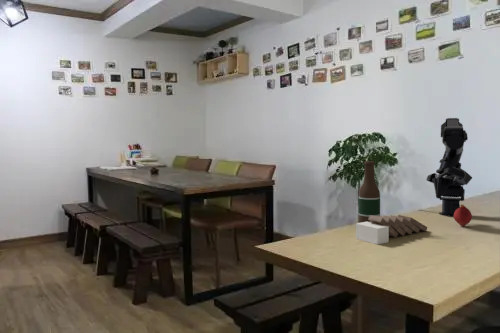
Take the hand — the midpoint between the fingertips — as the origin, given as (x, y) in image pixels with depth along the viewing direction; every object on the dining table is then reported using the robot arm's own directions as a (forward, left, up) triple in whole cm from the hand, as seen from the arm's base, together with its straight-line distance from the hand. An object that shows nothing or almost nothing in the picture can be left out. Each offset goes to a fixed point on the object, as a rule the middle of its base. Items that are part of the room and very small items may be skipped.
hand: (438, 198), depth 151 cm
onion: (+3, +8, -10) cm, 14 cm away
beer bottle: (-7, -24, -10) cm, 27 cm away
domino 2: (+7, -21, -10) cm, 24 cm away
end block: (+11, -33, -10) cm, 36 cm away
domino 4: (+5, -14, -10) cm, 17 cm away
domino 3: (+6, -17, -10) cm, 21 cm away
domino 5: (+4, -10, -10) cm, 14 cm away
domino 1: (+8, -24, -10) cm, 27 cm away
